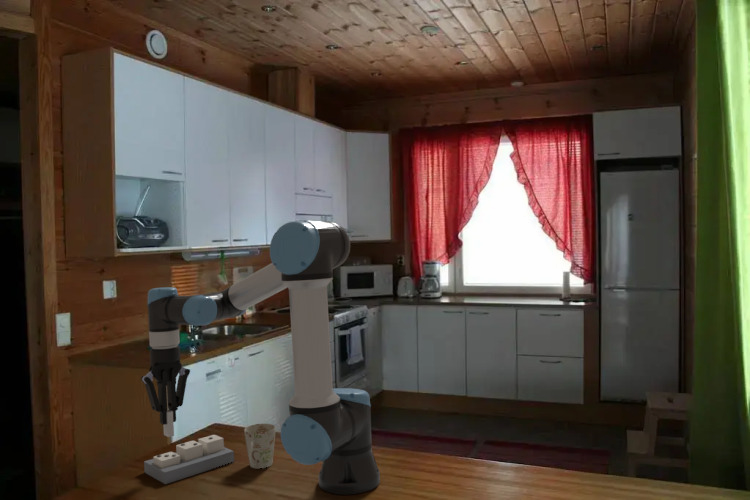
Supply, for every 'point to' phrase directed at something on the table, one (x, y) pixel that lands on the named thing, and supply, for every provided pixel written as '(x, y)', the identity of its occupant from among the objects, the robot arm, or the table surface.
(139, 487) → the table surface
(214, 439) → the white block
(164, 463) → the white block with dots
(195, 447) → the white die
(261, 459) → the mug
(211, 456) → the board
